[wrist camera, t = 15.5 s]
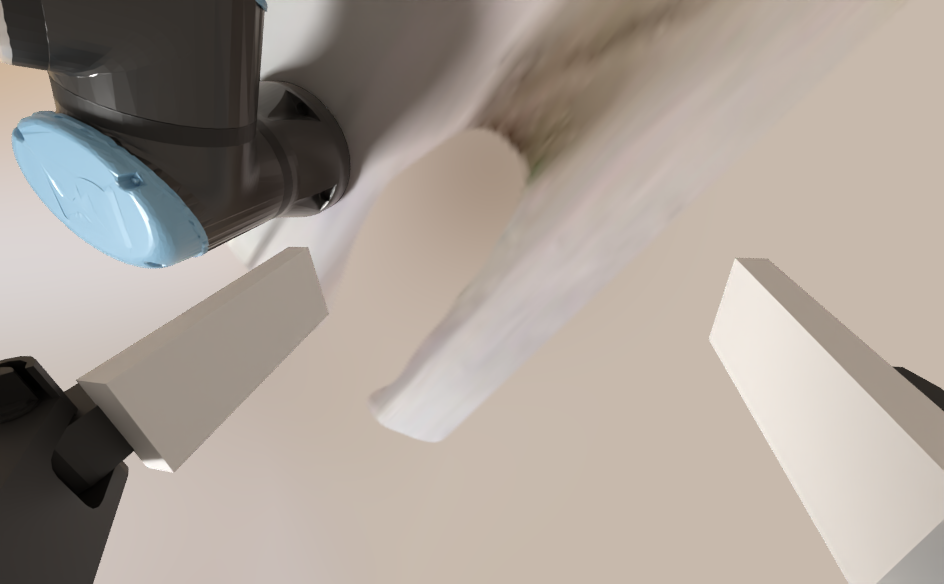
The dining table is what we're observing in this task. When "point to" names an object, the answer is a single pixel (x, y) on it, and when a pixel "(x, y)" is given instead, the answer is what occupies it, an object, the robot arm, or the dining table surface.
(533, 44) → the dining table surface
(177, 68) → the robot arm
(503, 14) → the dining table surface
